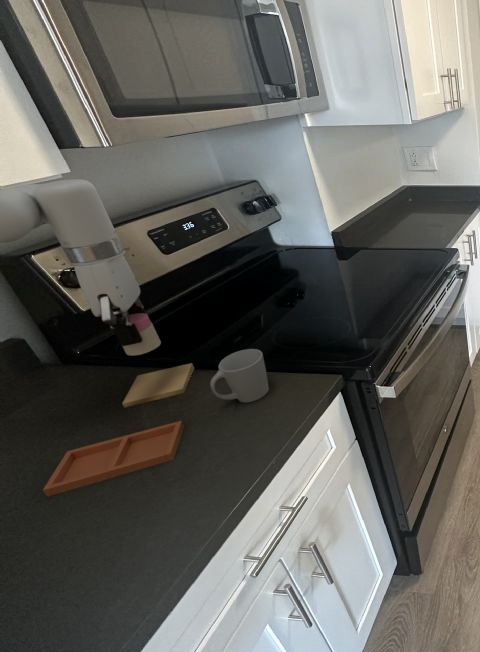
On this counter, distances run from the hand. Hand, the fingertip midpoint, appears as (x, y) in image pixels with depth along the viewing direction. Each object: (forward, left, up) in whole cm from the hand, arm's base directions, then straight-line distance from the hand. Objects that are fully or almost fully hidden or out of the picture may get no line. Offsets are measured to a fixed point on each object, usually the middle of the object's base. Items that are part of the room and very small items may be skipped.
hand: (137, 335), depth 85 cm
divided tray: (-1, -21, -13) cm, 25 cm away
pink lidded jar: (0, 0, -3) cm, 3 cm away
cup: (+17, -12, -13) cm, 25 cm away
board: (0, 0, -13) cm, 13 cm away
